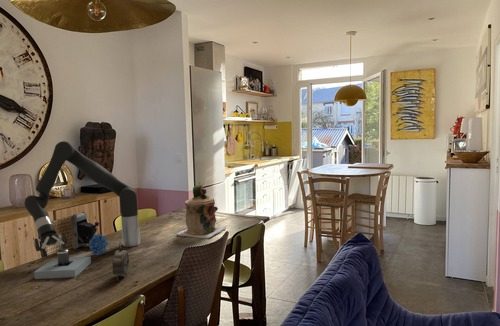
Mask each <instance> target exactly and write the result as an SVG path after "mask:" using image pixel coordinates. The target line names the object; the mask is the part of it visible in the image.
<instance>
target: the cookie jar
mask: <svg viewBox="0 0 500 326" xmlns="http://www.w3.org/2000/svg"><path fill="white" fill-rule="evenodd" d="M192 194H193V197H192V198H190V199H187V200H185V202H184V204H185V210H186V211H185V212H186V213H185V224H186V225H185V226H186V228H185V229H184V230H181V231H179V232H177V233H176V236H179V237H188V238H197V239H204V240H205V239H210V238H211V237H213V236H215V235H217V234H219V233H221V232H222V231H224V230H226V228H227V225H216V222H217V219H216V212H217V211H218V209H219V208H218V207H217V206H215V205H216V203H215V199H214V198H211V197H210V196H209V195H207V189H206V188H204V187H203V183H202V182H201V181H200V182H199V183H198V184H197V185H194V186H193V187H192Z"/></svg>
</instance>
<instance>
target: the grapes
mask: <svg viewBox="0 0 500 326" xmlns="http://www.w3.org/2000/svg"><path fill="white" fill-rule="evenodd" d="M89 243H90V244H89V250H90V251H92V252H91V253H92V255H97V256H101V255H102V254H103V253H105V252H106V251H107V247H108V244H109V243H108V241H107V236H105V235H103V234H102V233H97V234H94V235H93V237H92V239H91V240H90V242H89Z"/></svg>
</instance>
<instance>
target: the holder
mask: <svg viewBox="0 0 500 326" xmlns="http://www.w3.org/2000/svg"><path fill="white" fill-rule="evenodd" d="M91 263H92V259H91V256H73V257H72V256H71V257H69V265H68V266H58V258H57V257H54V258H52V259H50V260H49V261H48V262H46V263H45V264H44V265H42V266H40V267H39V268H38V269H36V270H35V271H34V272H33V274H34V279H35V280H42V279H63V278H64V279H65V278H76V277H77V276H78V275H79V274H80V273H81V272H83V271H84V270H85V269H86V268H87V267H89V266H90V265H91Z"/></svg>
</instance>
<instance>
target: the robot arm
mask: <svg viewBox="0 0 500 326" xmlns="http://www.w3.org/2000/svg"><path fill="white" fill-rule="evenodd" d="M66 162H68V163H70V164H72V165H73V166H75V167H76V168H77V169H78V170H79V171H80V172H82V173H83V175H85V176H86V177H87V178H88V179H90V180H92V181H93V182H94V183H95V184H97V185H99V186H101V187H103V188H105V189H108V190H109V191H112V192H113V193H114V194H115V195H116V196H118V197H119V209H120V216H121V217H120V220H121V235H122V246H123V247H127V248H128V247H136V246H139V245H140V244H141V243H142V242H141V241H142V240H141V227H140V226H139V213H138V212H139V211H138V200H137V199H138V198H137V197H138V195H137V191H136V190H135V189H134V188H133V187H131V186H130V185H128V184H126V183H124V182H122V181H121V180H120V179H119V178H117V177H116V176H115V175H114V174H113V173H112V172H110V171H109V170H108V169H106V168H105V167H104V166H102V165H100V164H99V163H97V162H96V161H95V160H92V159H91V158H89V157H87V156H85V155H84V154H83V153H81V152H80V151H79V150H78V149H76V147H74V145H72V144H71V143H70V142H68V141H64V140H63V141H59V142H58V143H56V145H55V146H54V149H53V152H52V155H51V158H50V161H49V163H48V165H47V167H46V168H45V171H44V172H43V174H42V175H41V178H40V179H39V181H38V183H37V185H36V187H35V191H36V192H38V194H39V195H38V196H37V195H33V194H32V195H28V196H27V197H25V199H24V207H25V210H27V212H28V213H29V214H30V215H31V217H32V218H33V222H34V224H35V225H34V226H35V228H36V229H35V230H36V231H37V234H38V237H39V238H34V241H33V245H34V248H35V251H36V252H41V255H42V257H44V258H47V257H48V253H47V251H46V247H49V246H52V245H57V246H60V249H67V247H66V245H67V243H68V238H67V237H66V235H65V233H64V232H61V234H58V233H57V231H56V229H55V226H54V223H53V221H52V219H51V218H50V215H49V212H48V211H47V209H45V208H46V207H47V205H48V201H49V197H50V193H51V191H52V189H53V186H55V184H56V181H57V179H58V176H59V174H60V171H61V169H62V167H63V165H64V164H65V163H66ZM40 243H41V244H42V245H41V246H40Z"/></svg>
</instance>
